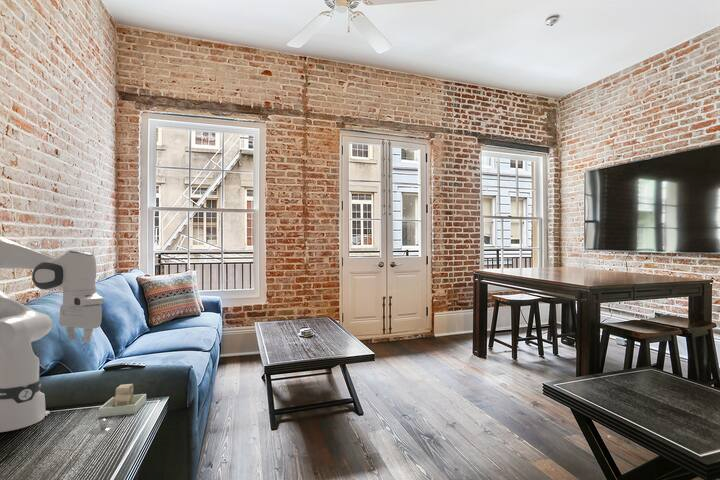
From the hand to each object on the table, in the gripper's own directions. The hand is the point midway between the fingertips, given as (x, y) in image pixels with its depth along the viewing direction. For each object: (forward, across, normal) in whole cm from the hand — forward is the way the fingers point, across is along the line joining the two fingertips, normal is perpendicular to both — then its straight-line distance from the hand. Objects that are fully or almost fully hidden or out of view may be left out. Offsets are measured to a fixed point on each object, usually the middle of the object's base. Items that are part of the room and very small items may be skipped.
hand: (78, 340), depth 121 cm
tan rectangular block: (+30, -8, +19) cm, 37 cm away
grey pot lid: (+31, +4, +6) cm, 32 cm away
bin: (+31, -8, +19) cm, 37 cm away
